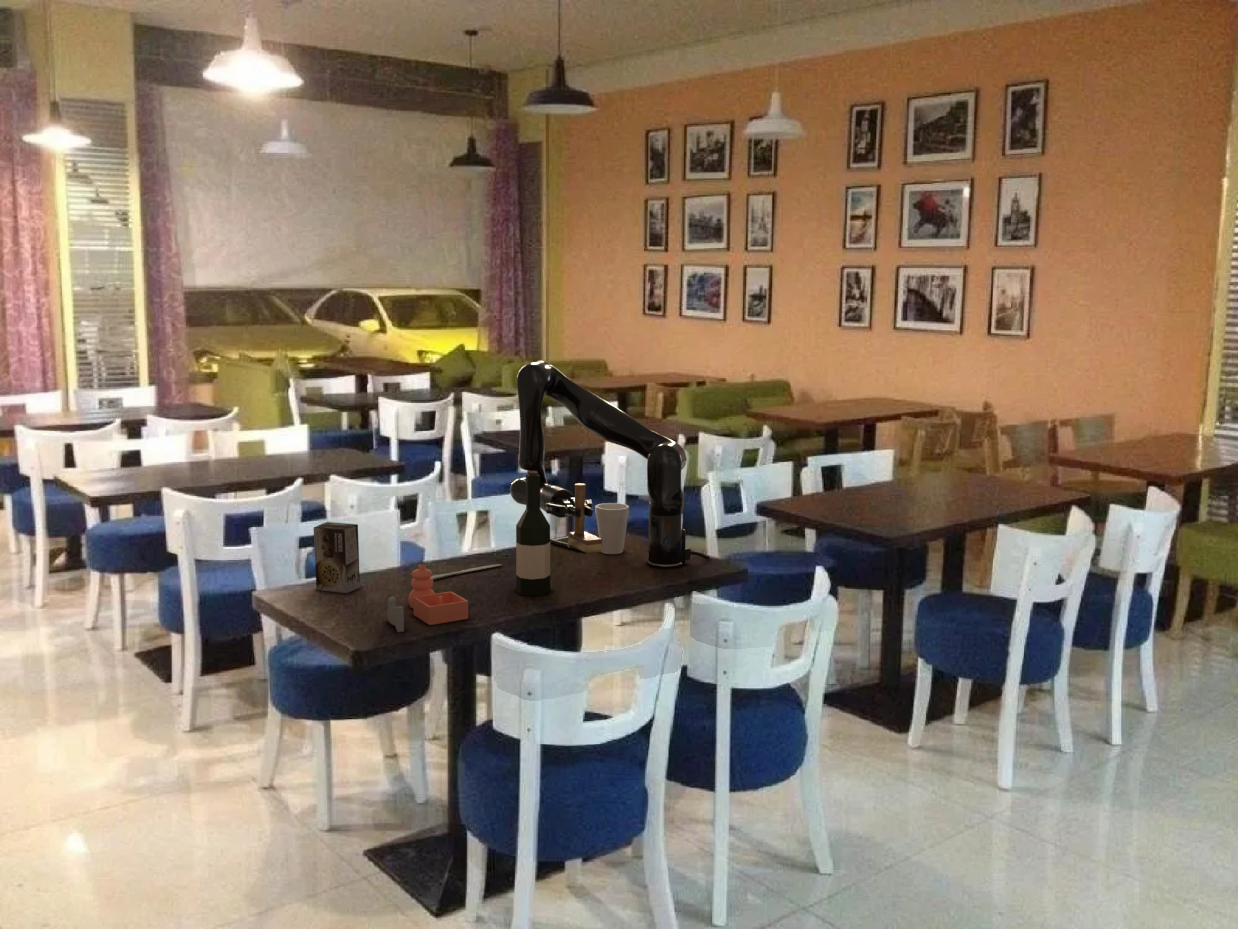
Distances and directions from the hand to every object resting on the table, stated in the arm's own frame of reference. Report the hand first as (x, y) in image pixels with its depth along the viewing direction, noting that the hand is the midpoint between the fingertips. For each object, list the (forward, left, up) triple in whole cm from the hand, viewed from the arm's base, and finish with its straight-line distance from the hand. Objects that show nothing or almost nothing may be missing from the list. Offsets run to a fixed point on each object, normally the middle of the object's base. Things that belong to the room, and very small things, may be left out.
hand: (585, 513), depth 294 cm
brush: (0, 0, -9) cm, 9 cm away
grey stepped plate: (+55, +15, -18) cm, 60 cm away
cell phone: (-15, -34, -18) cm, 41 cm away
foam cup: (-21, -23, -18) cm, 36 cm away
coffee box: (+58, -20, -18) cm, 64 cm away
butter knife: (+25, -20, -18) cm, 37 cm away
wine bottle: (+16, +3, -18) cm, 24 cm away
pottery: (+44, +9, -18) cm, 48 cm away
